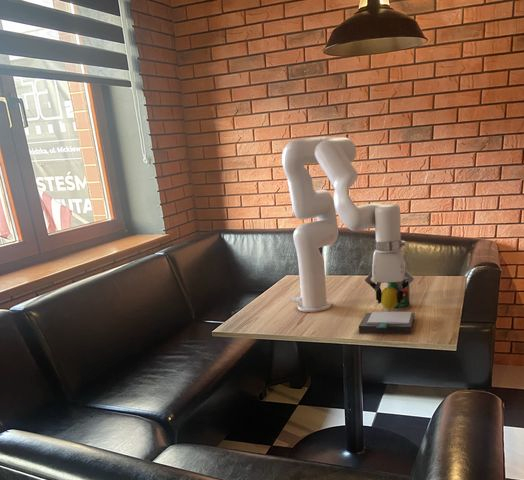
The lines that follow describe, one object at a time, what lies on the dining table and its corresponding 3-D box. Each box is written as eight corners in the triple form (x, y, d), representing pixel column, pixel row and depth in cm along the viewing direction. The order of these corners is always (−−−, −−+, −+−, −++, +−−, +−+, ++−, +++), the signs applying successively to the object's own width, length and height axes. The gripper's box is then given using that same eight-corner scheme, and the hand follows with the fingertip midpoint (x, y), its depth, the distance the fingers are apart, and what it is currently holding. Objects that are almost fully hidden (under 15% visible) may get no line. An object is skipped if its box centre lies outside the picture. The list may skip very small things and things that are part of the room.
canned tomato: (402, 302, 197) (402, 273, 193) (414, 307, 190) (413, 277, 186) (383, 306, 196) (382, 276, 192) (393, 311, 188) (393, 280, 185)
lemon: (398, 312, 169) (398, 287, 166) (381, 313, 170) (380, 288, 168) (398, 307, 174) (398, 283, 172) (381, 308, 176) (380, 284, 173)
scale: (357, 335, 169) (357, 326, 168) (366, 319, 183) (366, 310, 182) (409, 336, 163) (409, 327, 162) (414, 320, 177) (414, 311, 176)
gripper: (418, 242, 165) (418, 298, 172) (362, 244, 172) (364, 299, 178) (416, 246, 159) (416, 305, 165) (358, 249, 165) (360, 305, 171)
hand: (389, 301), depth 171 cm, fingers closed on lemon, 5 cm apart
